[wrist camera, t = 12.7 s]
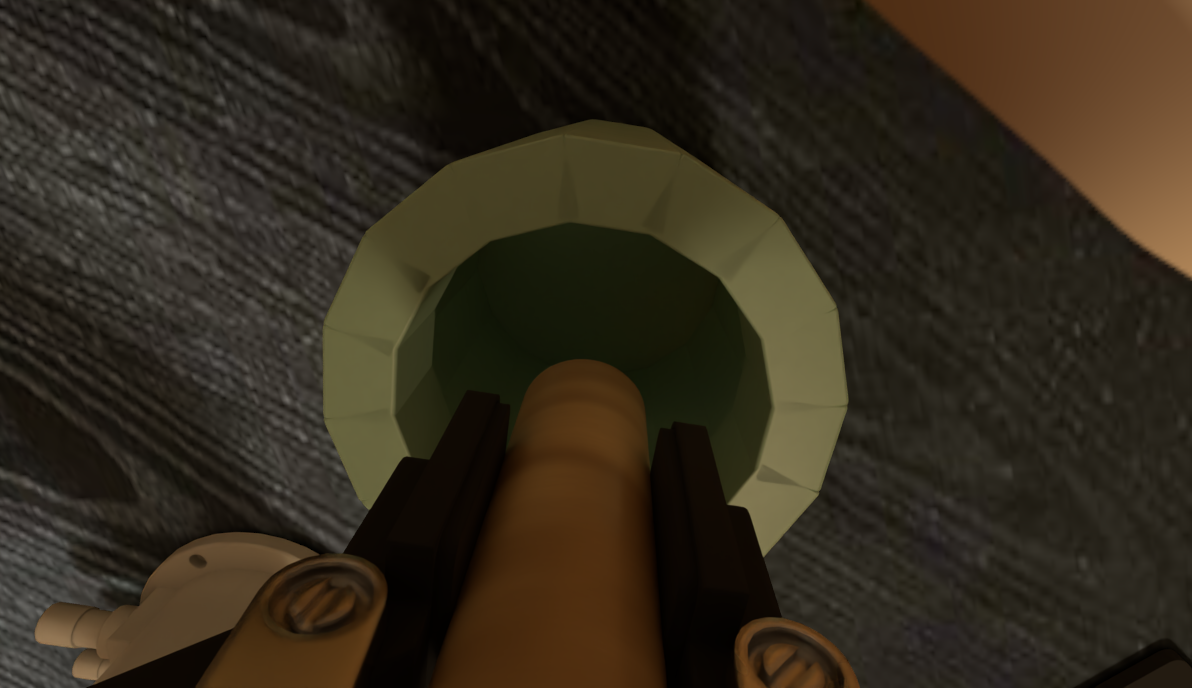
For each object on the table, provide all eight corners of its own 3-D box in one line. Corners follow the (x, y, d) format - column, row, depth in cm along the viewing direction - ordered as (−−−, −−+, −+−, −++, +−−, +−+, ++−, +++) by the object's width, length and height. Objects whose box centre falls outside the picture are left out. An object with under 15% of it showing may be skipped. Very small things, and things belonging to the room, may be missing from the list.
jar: (459, 361, 28) (322, 579, 15) (480, 100, 24) (318, 94, 11) (701, 398, 29) (771, 644, 16) (761, 145, 25) (921, 190, 12)
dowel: (515, 458, 14) (385, 893, 6) (529, 348, 13) (395, 702, 5) (634, 476, 14) (649, 929, 6) (655, 367, 13) (705, 747, 5)
